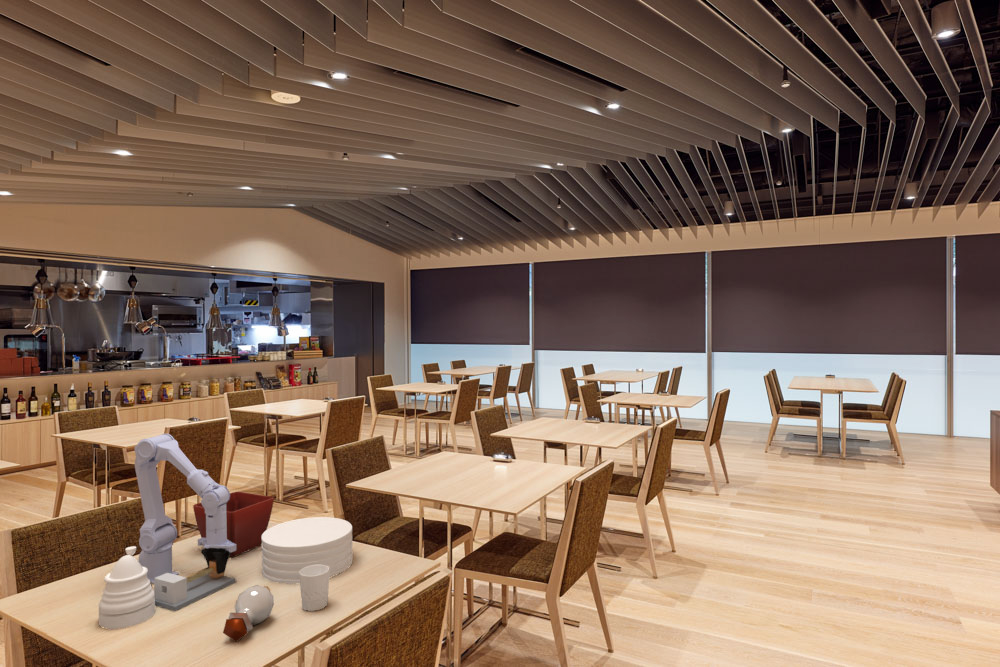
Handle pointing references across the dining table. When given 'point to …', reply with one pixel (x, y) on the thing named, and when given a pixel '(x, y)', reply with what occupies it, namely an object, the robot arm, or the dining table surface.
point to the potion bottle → (249, 611)
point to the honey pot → (126, 594)
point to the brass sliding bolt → (206, 572)
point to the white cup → (314, 587)
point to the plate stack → (306, 547)
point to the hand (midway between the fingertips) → (217, 571)
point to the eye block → (185, 589)
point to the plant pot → (241, 519)
